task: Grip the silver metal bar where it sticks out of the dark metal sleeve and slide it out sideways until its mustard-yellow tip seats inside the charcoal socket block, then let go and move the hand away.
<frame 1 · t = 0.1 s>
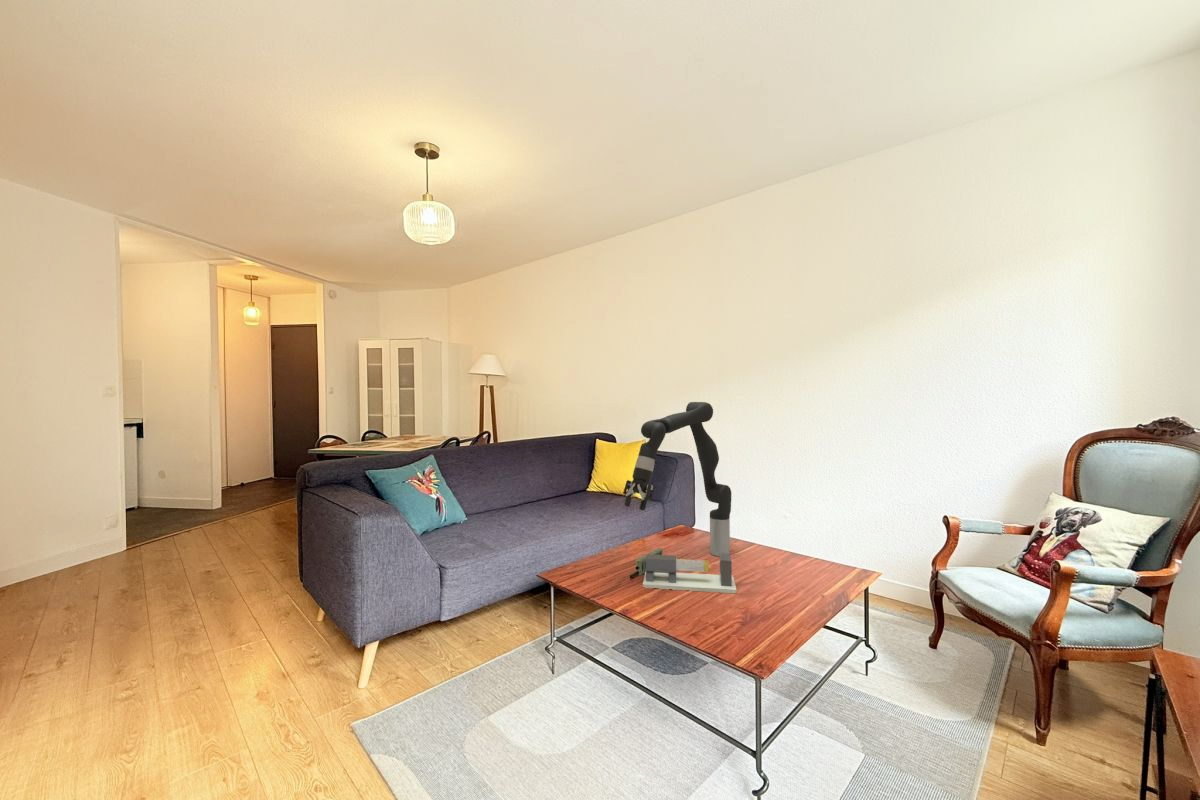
hand: (634, 508, 191), 31 cm above the table, tool tilted 20°, fingers open, 8 cm apart
handheld radio: (646, 571, 208), on the table
sleeve: (661, 581, 195), resting on base board
socket: (725, 585, 190), resting on base board
silver metal bar: (678, 564, 194), point 8 cm above the table, slide at 0.0 cm
base board: (688, 583, 193), on the table
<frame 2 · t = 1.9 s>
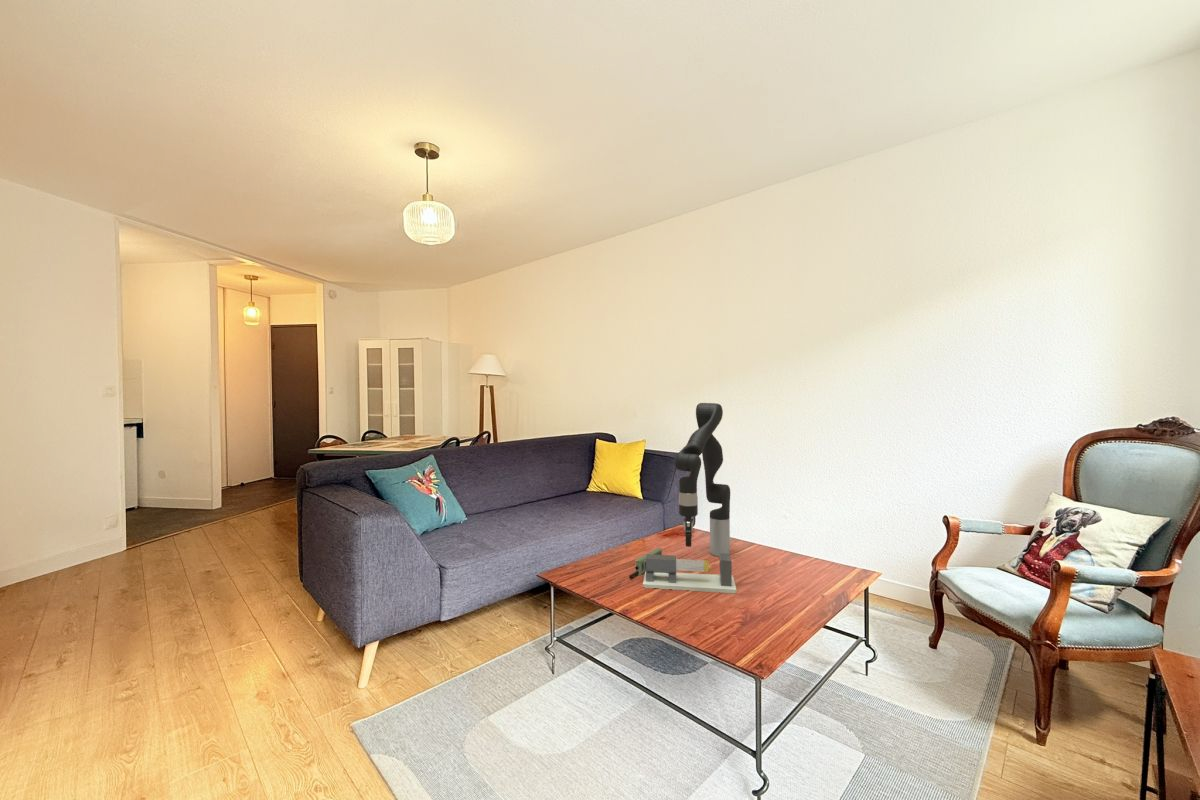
hand: (688, 543, 193), 17 cm above the table, tool pointing down, fingers open, 8 cm apart
nothing on the table moved.
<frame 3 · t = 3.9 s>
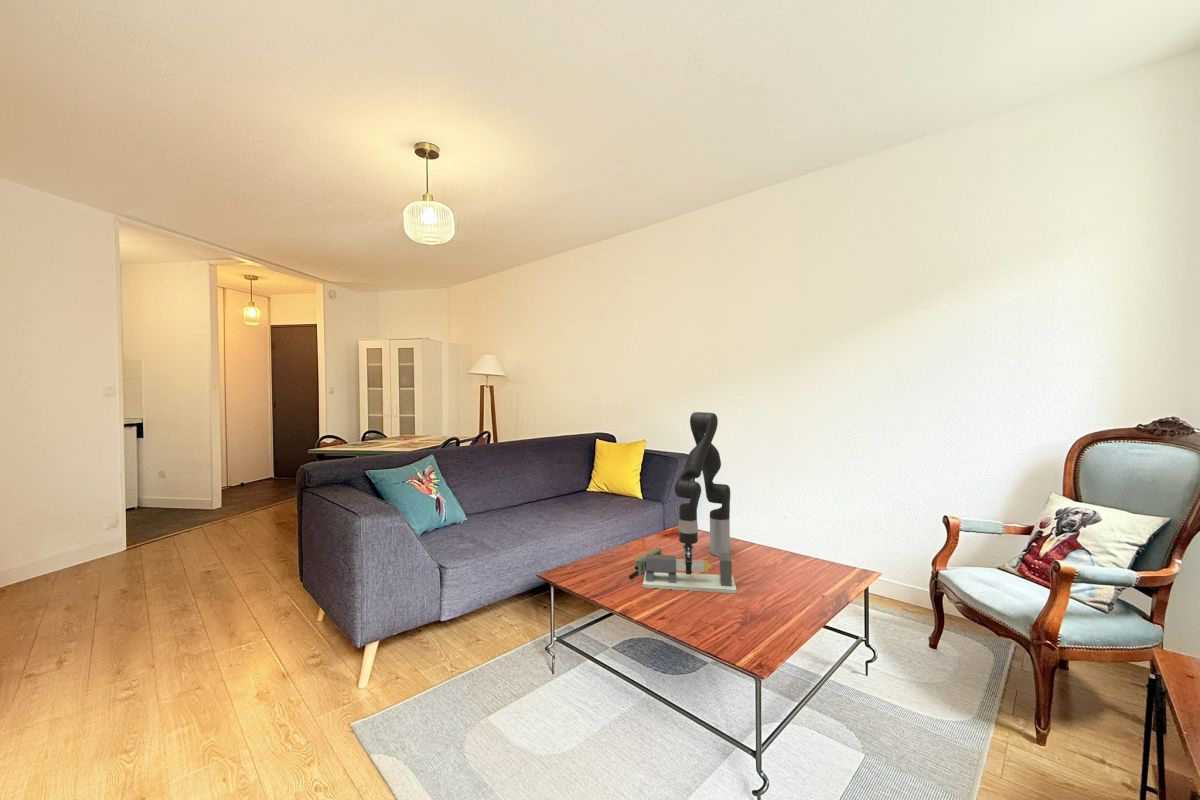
hand: (688, 572, 193), 5 cm above the table, tool pointing down, fingers closed on silver metal bar, 3 cm apart
silver metal bar: (678, 564, 194), point 7 cm above the table, slide at 0.0 cm, touching gripper
everything else where it was.
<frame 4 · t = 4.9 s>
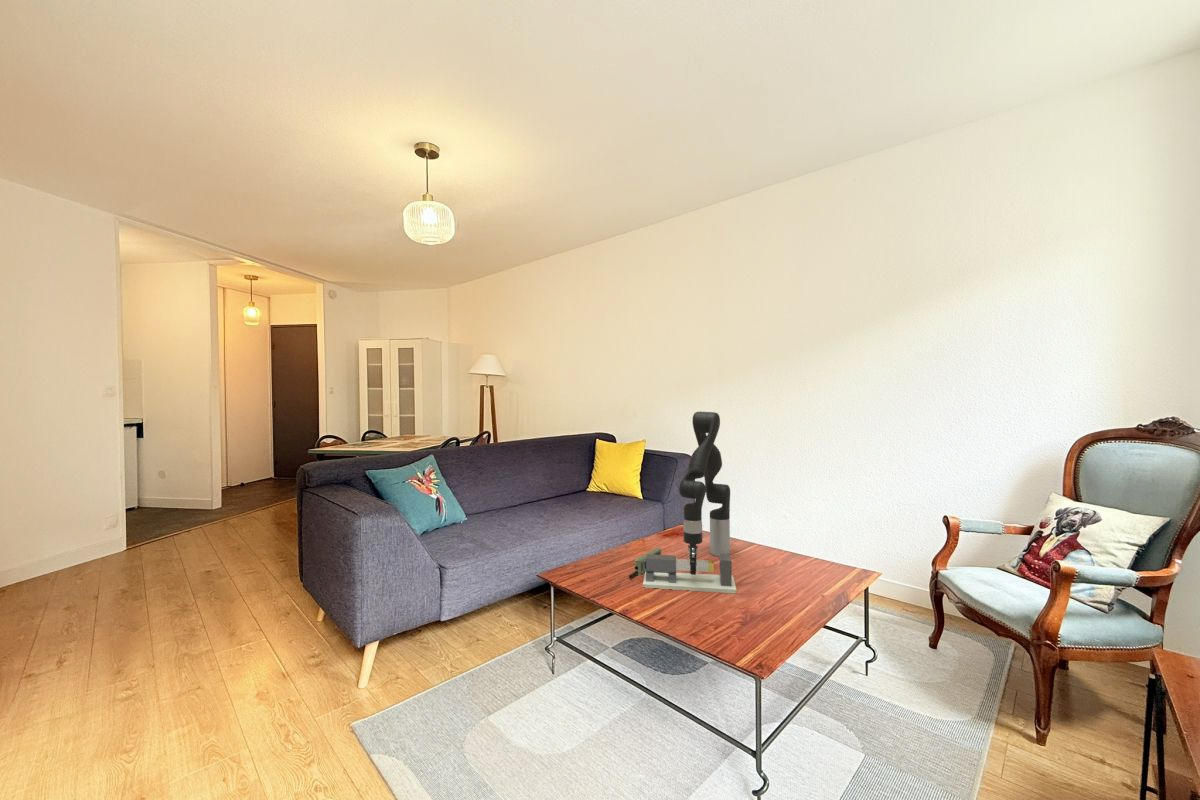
hand: (693, 572, 193), 5 cm above the table, tool pointing down, fingers closed on silver metal bar, 3 cm apart
silver metal bar: (683, 564, 193), point 8 cm above the table, slide at 1.8 cm, touching gripper
everything else where it was.
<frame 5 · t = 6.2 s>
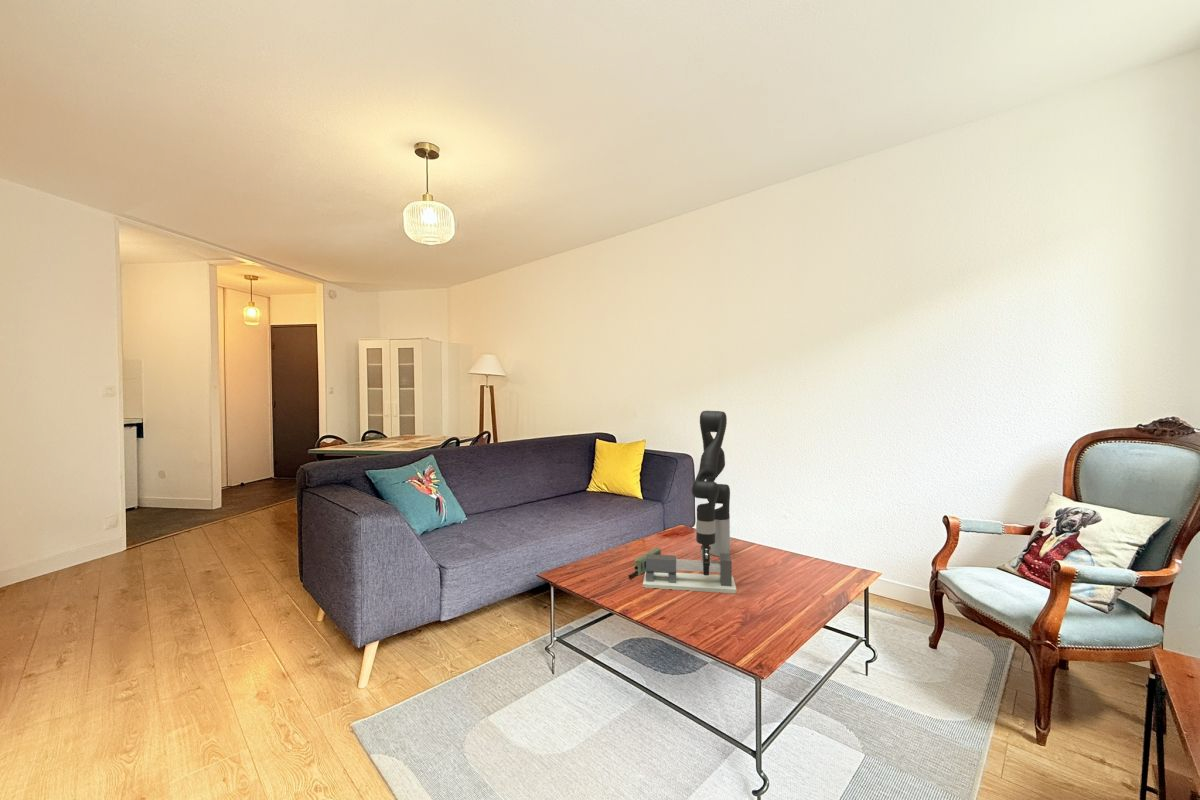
hand: (706, 572, 192), 5 cm above the table, tool pointing down, fingers closed on silver metal bar, 3 cm apart
silver metal bar: (695, 565, 192), point 7 cm above the table, slide at 6.9 cm, touching gripper
everything else where it was.
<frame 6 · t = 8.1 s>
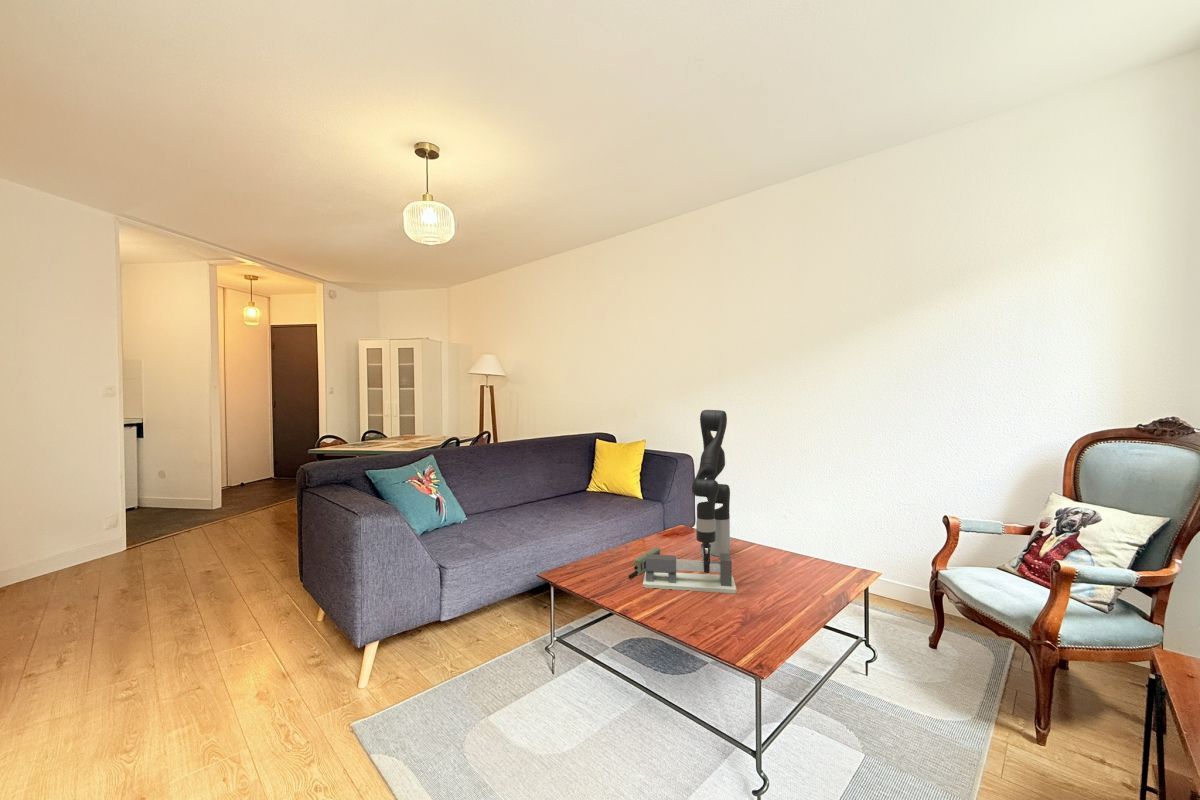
hand: (706, 568, 192), 6 cm above the table, tool pointing down, fingers open, 8 cm apart
silver metal bar: (695, 565, 192), point 7 cm above the table, slide at 6.9 cm
everything else where it was.
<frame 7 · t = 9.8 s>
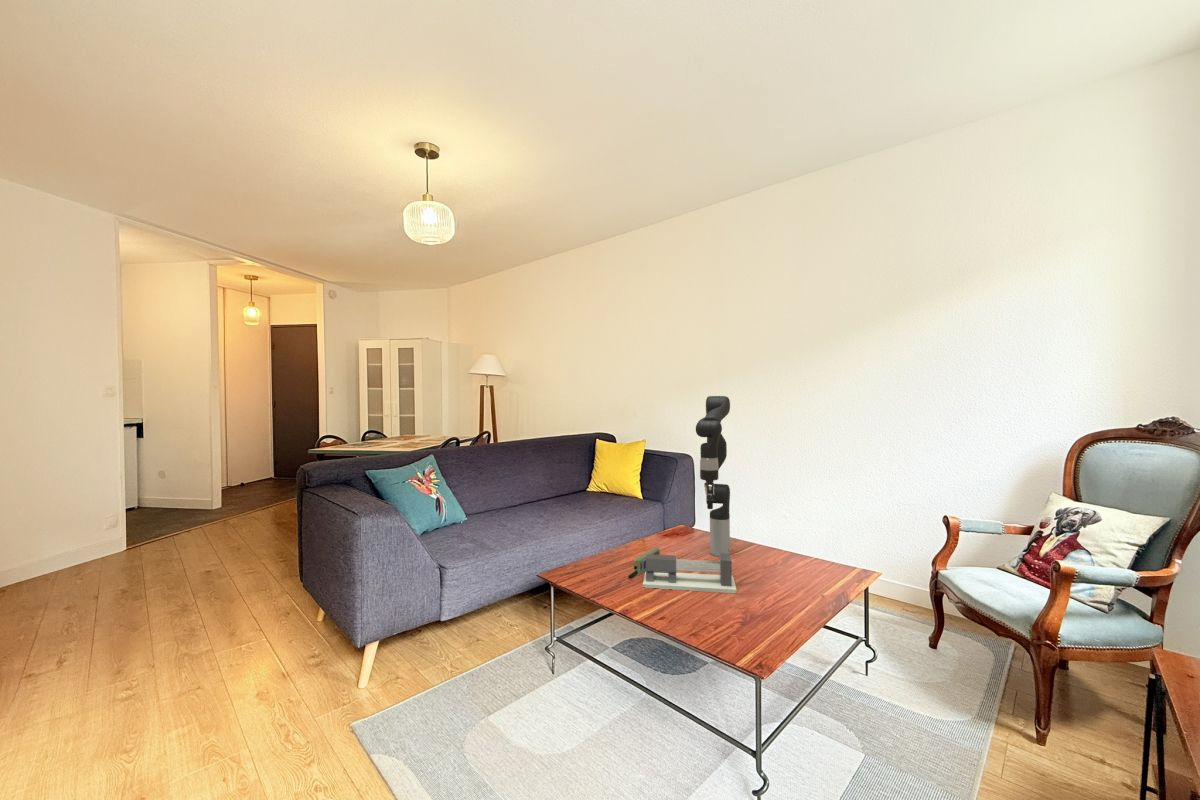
hand: (709, 506, 201), 29 cm above the table, tool pointing down, fingers open, 8 cm apart
nothing on the table moved.
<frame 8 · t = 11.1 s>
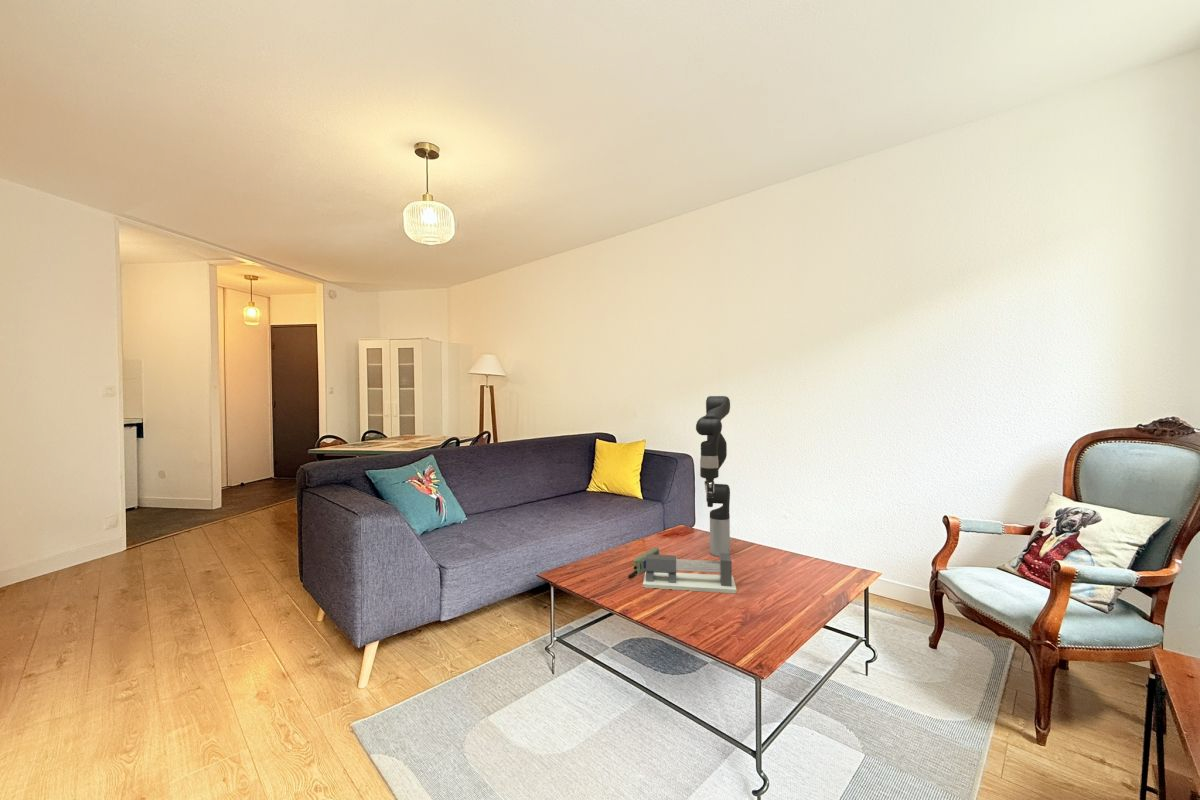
hand: (709, 504, 201), 30 cm above the table, tool pointing down, fingers open, 8 cm apart
at the end: silver metal bar slide at 6.9 cm; the gripper is holding nothing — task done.
